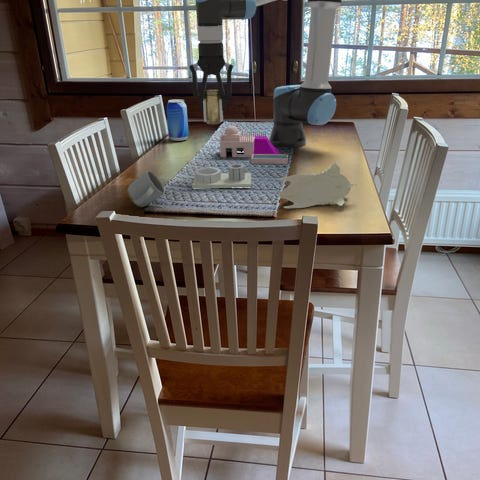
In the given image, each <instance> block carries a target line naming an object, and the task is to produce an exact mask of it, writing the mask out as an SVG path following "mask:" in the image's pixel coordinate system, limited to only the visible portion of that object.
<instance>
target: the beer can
mask: <svg viewBox="0 0 480 480" xmlns="http://www.w3.org/2000/svg"><path fill="white" fill-rule="evenodd" d="M167 101H168V102H167V104H166V118H167V120H166V121H167V129H168V137H169V139H170V140H171V141H175V142H176V141H177V142H179V141H185V140H187V139H188V137H189V135H190V134H189V122H188V108H187V107H188V106H187V104H186V103H185V99H180V98H179V99H178V98H177V99H176V98H175V99H169V100H167Z"/></svg>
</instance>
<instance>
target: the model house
mask: <svg viewBox="0 0 480 480" xmlns="http://www.w3.org/2000/svg"><path fill="white" fill-rule="evenodd" d="M266 133H267V132H266V131H265V132H264V131H263V132H262V131H241V130H239V129H238V127H236V126H235V125H228V126H227V127H226V128H225V129H224V131H223V132H222V133H221V135H220V137H219V139H220V140H219V141H220V142H219V153H220V154H219V155H220V158H227V155H231V156H232V158H251V160H250V162H251V164H252V165H253V164H261V165H266V164H268V165H271V164H272V165H274V164H275V165H289V163H288V161H289V160H288V158H289V154H284V153H283V154H280V150H279V149H278V148H277V147H274V146H273V145H272V143H271V142H270V141H269V138H268V137H267V134H266ZM237 151H241V152H242V151H244V154H237ZM227 161H228V164H229V163H230V161H231V160H230V158H229V159H227Z"/></svg>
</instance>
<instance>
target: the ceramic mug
mask: <svg viewBox="0 0 480 480" xmlns="http://www.w3.org/2000/svg"><path fill="white" fill-rule="evenodd" d="M165 192H166V191H165V187H164V186H163V184H162V183H161V181H160V180H159V178H158V177H157V176H156V175H155V174H154V173H153V172H151V171H150V170H146V171H144V173H142V174H141V175H140V176H139V177H138V178H137V179H136V180H134V181H132V183H130V184H129V185H128V187H127V188H126V193H127V195H128V197H129V199H130V200H131V202H132V203H133V204H134V205H136V207H138V208H144V207H147V206H148V205H150V204H151V203H152V202H154V201H156V200H158V198H160V197H161V196H163V195H164V194H165Z"/></svg>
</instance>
